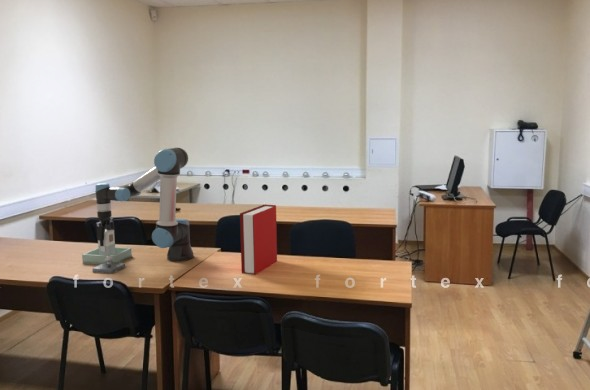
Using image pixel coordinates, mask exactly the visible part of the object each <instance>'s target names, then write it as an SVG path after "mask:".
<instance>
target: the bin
mask: <svg viewBox="0 0 590 390" xmlns="http://www.w3.org/2000/svg"><path fill="white" fill-rule="evenodd" d="M106 257H107V256H105V255H99V248H98V247H97V248H95V249H91V250H89V251H87V252H85V253H82V254H81V258H82V259H81V260H82V264H90V265H101V264H103V263H105V262H106V261H105V258H106ZM111 257H112V261H111V262H114V263H122V262H124V261H126V260H127V259H130V258H132V257H133V252H132V247H119V246H118V247H117V246H115V254H113V255H111Z"/></svg>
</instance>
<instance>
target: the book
mask: <svg viewBox="0 0 590 390" xmlns="http://www.w3.org/2000/svg"><path fill="white" fill-rule="evenodd" d="M239 224H240V225H239V226H240V232H239V233H240V234H239V235H240V256H241V257H240V259H241V260H240V261H241V274H243V273H249V274H253V275H255V276H256V275H258V274H259V273H261V272H262V271H265V270H266V269H267V268H269V267H271V266H273V265H274V264H276V263H277V262H278V248H277V247H278V243H277V242H278V239H277V238H278V237H277V234H278V233H277V227H278V226H277V206H276V204H262V205H258V206H256V207H254V208H251V209H248V210H245V211H243V212H240V213H239Z"/></svg>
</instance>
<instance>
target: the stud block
mask: <svg viewBox="0 0 590 390" xmlns="http://www.w3.org/2000/svg"><path fill="white" fill-rule="evenodd" d="M105 261H106V262H105V263H103V264H98V265H96V266H95V267H93V268H92V273H101V274H114V273H116V272H118V271H120V270H121V269H124V268H126V262H125V263H124V262H119V263H114V262H111V261H112V257H111V256H107V257H106V258H105Z"/></svg>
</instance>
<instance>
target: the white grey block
mask: <svg viewBox="0 0 590 390" xmlns="http://www.w3.org/2000/svg"><path fill="white" fill-rule="evenodd" d="M114 230H115V229H114ZM114 230H106V229H105V232H104V240H105V247H106V251H105V252H103V251H101V247H100V241H99V240H97V244H98V245H97V246H98V247H97V248H99V255H105V256H111V255H113V254H115V247H116V242H115V240H116V239H115V235H114Z"/></svg>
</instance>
